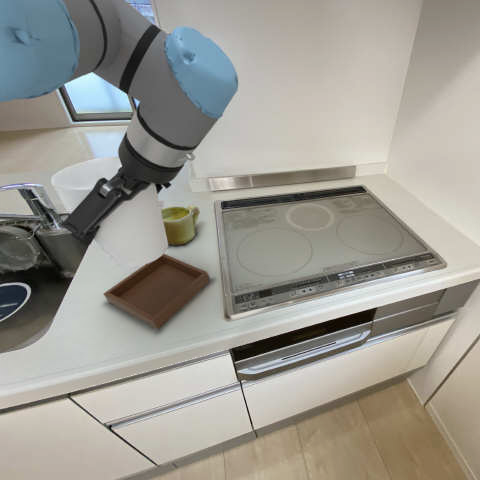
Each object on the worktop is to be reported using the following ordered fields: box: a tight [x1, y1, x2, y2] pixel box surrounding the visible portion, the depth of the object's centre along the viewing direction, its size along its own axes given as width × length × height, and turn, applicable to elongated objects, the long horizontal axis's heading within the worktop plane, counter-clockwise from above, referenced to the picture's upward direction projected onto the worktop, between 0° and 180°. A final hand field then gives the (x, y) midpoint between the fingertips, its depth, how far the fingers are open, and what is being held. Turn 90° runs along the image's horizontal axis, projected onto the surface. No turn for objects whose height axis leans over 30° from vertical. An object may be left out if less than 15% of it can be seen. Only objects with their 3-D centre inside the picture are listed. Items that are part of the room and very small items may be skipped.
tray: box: [103, 253, 211, 330], centre depth 58 cm, size 15×15×3 cm
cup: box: [50, 156, 169, 268], centre depth 47 cm, size 13×13×17 cm
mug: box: [161, 204, 201, 246], centre depth 73 cm, size 12×10×10 cm
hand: (115, 217), depth 47 cm, fingers closed on cup, 13 cm apart
